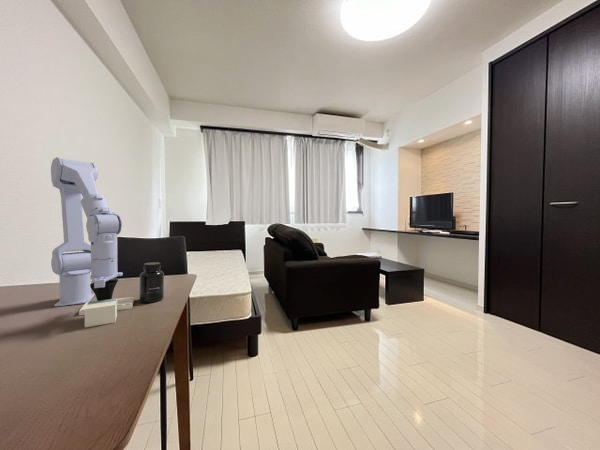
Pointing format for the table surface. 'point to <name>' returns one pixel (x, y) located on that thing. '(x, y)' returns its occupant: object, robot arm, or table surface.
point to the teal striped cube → (100, 312)
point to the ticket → (121, 304)
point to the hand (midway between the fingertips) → (104, 307)
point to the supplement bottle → (151, 283)
